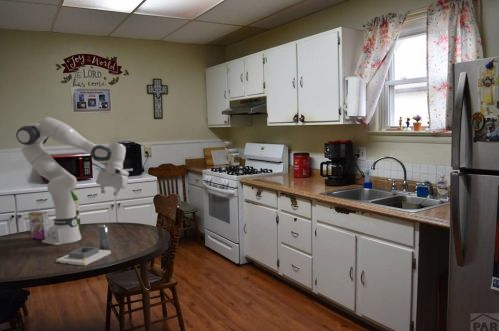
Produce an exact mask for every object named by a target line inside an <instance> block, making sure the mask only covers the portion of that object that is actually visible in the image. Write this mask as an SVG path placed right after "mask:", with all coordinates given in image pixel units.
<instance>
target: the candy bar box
mask: <svg viewBox="0 0 499 331" xmlns="http://www.w3.org/2000/svg"><path fill="white" fill-rule="evenodd" d="M27 215H28V223H29V229H30V239H31V238H36V239H35V240H43V239H46V232H47V231H48V230H49V229H50V228H51V226H50V217H49V211H42V210H41V211H40V210H39V211H38V210H34V211H30V212H28V214H27Z"/></svg>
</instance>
